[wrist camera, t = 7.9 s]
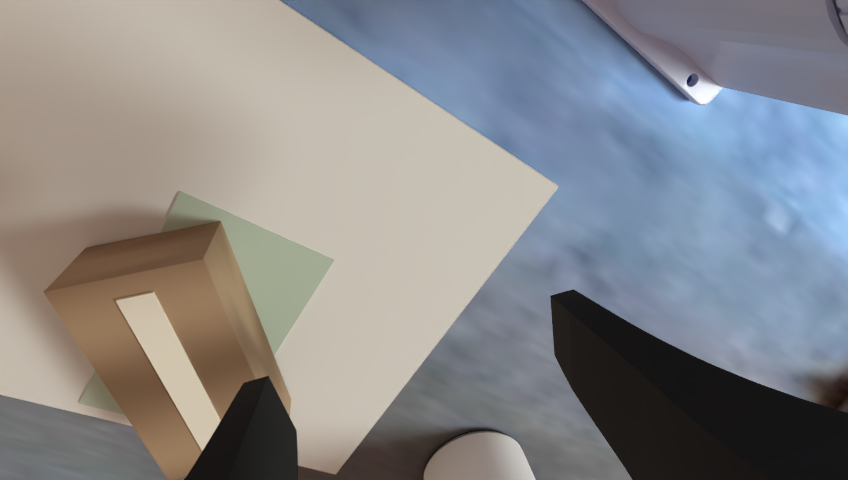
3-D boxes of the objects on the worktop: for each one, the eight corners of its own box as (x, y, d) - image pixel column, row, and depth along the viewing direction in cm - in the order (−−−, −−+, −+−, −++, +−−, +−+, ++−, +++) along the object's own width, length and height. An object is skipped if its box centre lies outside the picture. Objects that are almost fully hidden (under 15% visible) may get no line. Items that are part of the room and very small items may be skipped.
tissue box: (291, 399, 23) (286, 453, 20) (187, 424, 22) (168, 483, 19) (220, 220, 18) (202, 260, 15) (85, 247, 17) (41, 293, 15)
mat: (553, 181, 20) (559, 187, 20) (335, 465, 26) (335, 476, 26) (40, -160, 13) (26, -168, 12) (-107, 355, 18) (-121, 367, 18)
